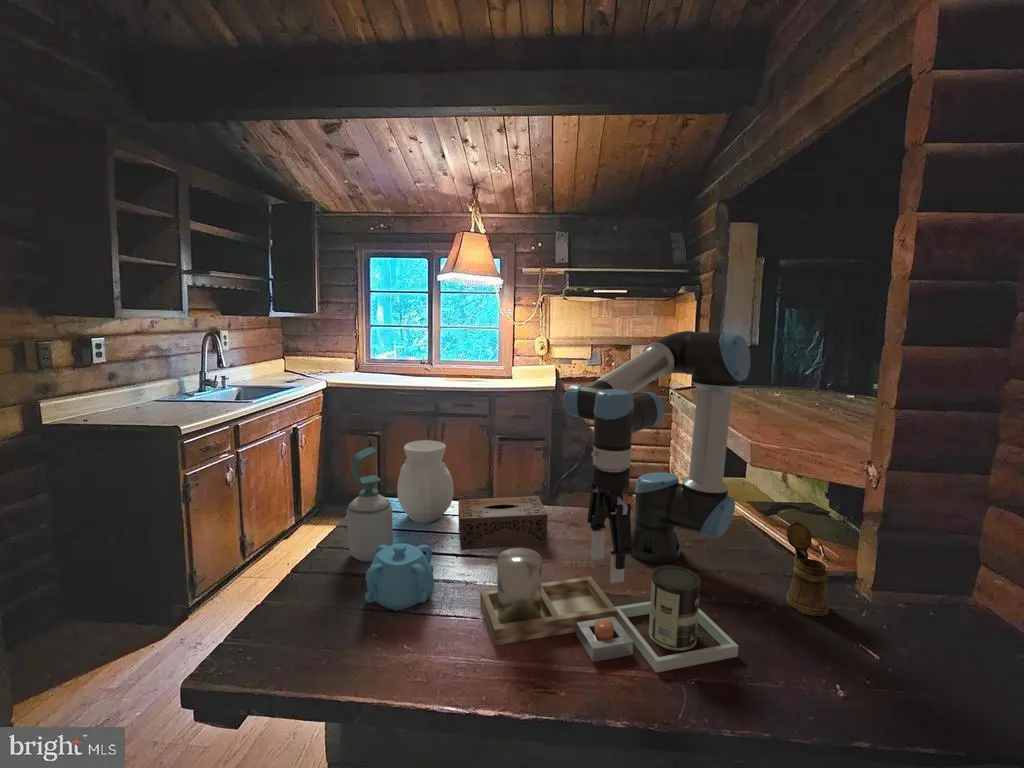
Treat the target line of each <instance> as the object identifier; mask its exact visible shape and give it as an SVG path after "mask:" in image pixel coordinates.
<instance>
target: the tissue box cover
mask: <svg viewBox="0 0 1024 768" xmlns="http://www.w3.org/2000/svg"><path fill="white" fill-rule="evenodd" d="M457 502H458V505H457V506H458V508H457V509H458V533H459V534H458V535H459V536H458V537H459V545H460V551H465V550H483V549H487V550H488V549H501V548H502V549H503V548H521V547H534V546H535V547H536V546H537V547H538V546H547V545H548V519H549V518H548V512H547V510H546V509H545V507H544V504H543V503H542V501H541V499H540V497H539V495H533V496H532V495H531V496H529V495H528V496H512V497H511V496H509V497H508V496H507V497H490V498H489V497H487V498H486V497H485V498H467V499H466V498H465V499H464V498H463V499H462V498H461V499H458V501H457Z"/></svg>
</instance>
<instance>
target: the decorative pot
mask: <svg viewBox="0 0 1024 768" xmlns="http://www.w3.org/2000/svg"><path fill="white" fill-rule="evenodd" d="M424 550H426V551H425V553H426V554H424V552H423V551H424ZM432 556H433V551H432V548H431V546H429V545H427V544H420V545H418V546H415V545H412V544H410V543H409V544H408V543H403V542H402V543H396V544H392V546H389V547H388V546H387V545H380V546H379V547H378V548H377V549H376V556H375V558H374V560H373V561H372V562H371V564H370V567H369V568H368V569H367V571H366V573H365V581H366V587H367V592H366V593H365V596H364V599H365V601H366V602H367V603H375V602H376V603H377V604H379V605H380V606H382V607H384V608H386V609H389V610H392V611H395V612H399V611H398V610H400V611H402V610H406V609H410V608H411V607H414V606H415V605H418V604H419V603H425V602H426V601H427V600H428V597H430V595H431V593H432V591H433V590H434V589H435V588H434V587H435V579H434V574H433V572H434V566H433V565H432V564H431V560H432Z"/></svg>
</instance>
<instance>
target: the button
mask: <svg viewBox="0 0 1024 768" xmlns="http://www.w3.org/2000/svg"><path fill="white" fill-rule="evenodd" d="M613 635H614V625H613V624H612V623H611V622H610V621H607V620H598V621H597V622H596V623H595V635H594V636H595V637H596V639H597V640H598V641H602V640H608V639H613Z"/></svg>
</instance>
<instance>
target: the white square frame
mask: <svg viewBox="0 0 1024 768" xmlns="http://www.w3.org/2000/svg"><path fill="white" fill-rule="evenodd" d="M650 605H651V600H650V601H644V602H638V603H632V604H631V603H630V604H624V605H619V606H614V607H615V608H616V609H617V621H618V622H619V624H620V625H621V626H622V628H623V629H624V630H625V632H626V633H627V634H628V636H629V637H630V638H631V640H632V641H633V645H634V646H635V647H636V648H637V650H638V651H639V652H640V654H641V655H642V656H643V658H644V659H645V661H647V663H648V664H649V666H650V667H651V668H652V670H653V671H654V672H655V673H662V672H666V671H671V670H676V669H681V668H687V667H692V666H697V665H701V664H706V663H707V664H708V663H713V662H718V661H722V660H727V659H732V658H737V657H738V653H739V645H738V644H737V643H736V642H735V641H734V640H733V639H732V638H731V637H730V636H729V635H728V634H727V633H726V632H725V631H723V630H722V628H720V627H719V626H718V625H717V624H716V623H715V622H714V621H713V620H712V619H711V618H710V617H709V616H708V615H707V614H706V613H705V612H704V611H703V610H702V609H700V608H699V609H698V622H697V624H700V626H701V627H702V628H703V629H704V630H705V632H707V633H708V634H709V635H710V636H711V637H712V638H713V639H714V640H715V641H716V642H717V643H719V645H717V646H712V647H706V648H700V649H695V650H690V651H685V652H680V653H674V654H670V655H665V656H663V655H662V656H658V655H657V654H656V652H655V651H654V650H653V648H652V647H651V646H650V645H649V643H648V642H647V641H646V640H645V638H644V637H643V636H642V635H641V634H640V631H638V629H637V628H636V627H635V626H634V624H633V623H632V622H631V621H630V620H629V618H632V617H637V616H643V615H644V616H645V615H650Z"/></svg>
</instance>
